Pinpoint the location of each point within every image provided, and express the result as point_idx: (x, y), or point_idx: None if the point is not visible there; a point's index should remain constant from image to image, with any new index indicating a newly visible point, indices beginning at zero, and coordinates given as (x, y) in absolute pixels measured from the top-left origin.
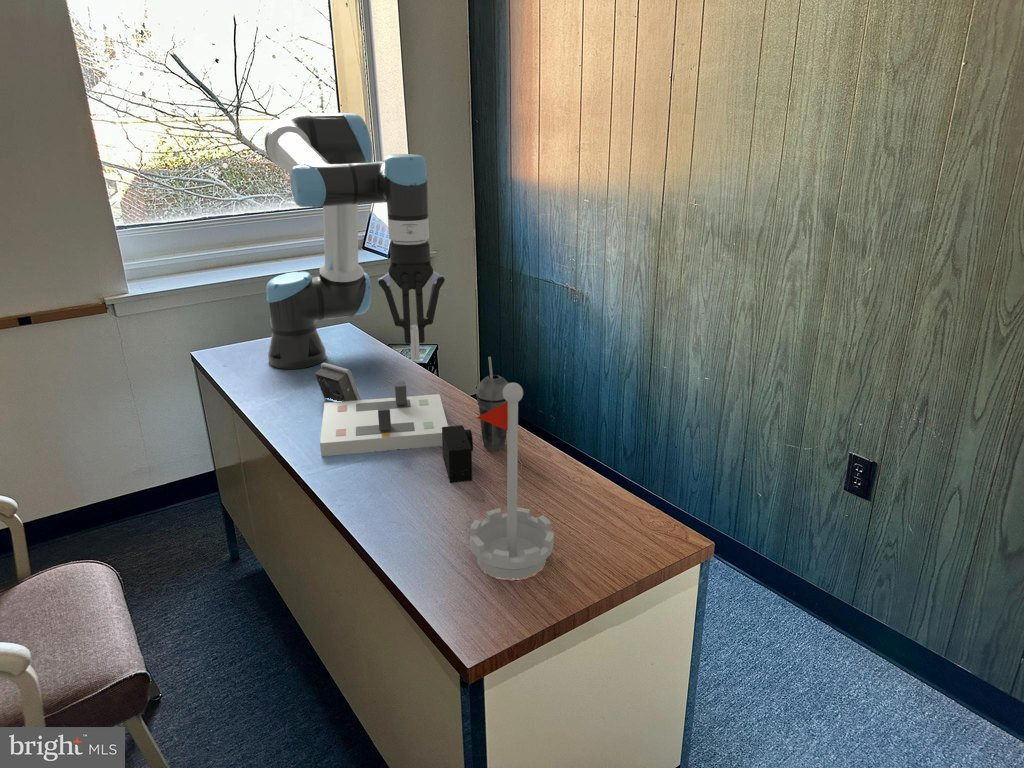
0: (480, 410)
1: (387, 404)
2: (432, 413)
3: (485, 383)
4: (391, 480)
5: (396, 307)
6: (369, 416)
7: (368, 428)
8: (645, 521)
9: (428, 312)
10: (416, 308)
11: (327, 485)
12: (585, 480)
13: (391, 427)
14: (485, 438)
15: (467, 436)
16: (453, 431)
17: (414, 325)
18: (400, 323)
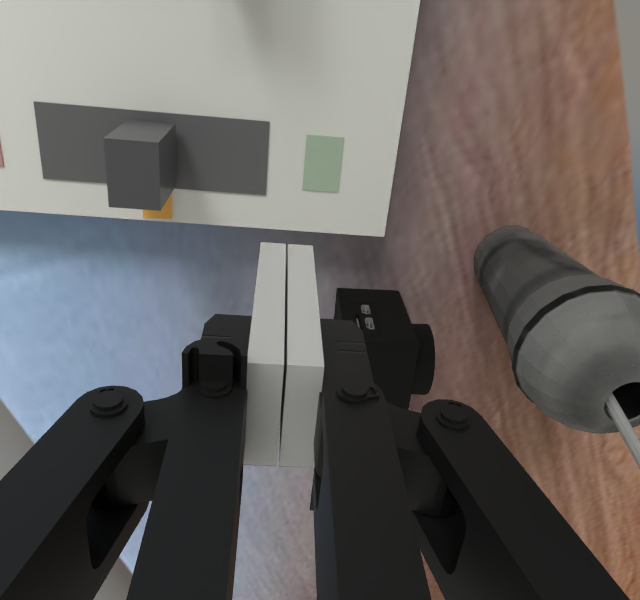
0: (505, 334)
1: (150, 149)
2: (361, 52)
3: (570, 411)
4: (178, 369)
5: (57, 539)
6: (83, 1)
7: (87, 131)
8: (636, 586)
9: (444, 577)
10: (327, 552)
11: (4, 355)
12: (629, 462)
13: (179, 147)
14: (484, 294)
15: (412, 392)
16: (375, 378)
17: (294, 377)
18: (144, 504)
